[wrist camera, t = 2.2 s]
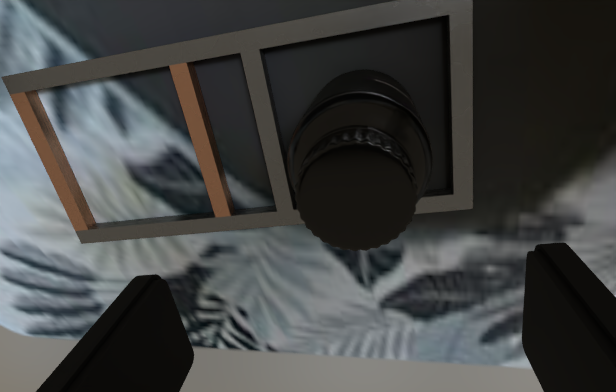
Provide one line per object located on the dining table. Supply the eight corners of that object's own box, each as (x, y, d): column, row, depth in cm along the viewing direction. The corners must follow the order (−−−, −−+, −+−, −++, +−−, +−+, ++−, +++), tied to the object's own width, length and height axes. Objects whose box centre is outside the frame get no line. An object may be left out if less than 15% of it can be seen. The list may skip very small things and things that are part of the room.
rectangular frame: (468, -14, 22) (472, -15, 21) (469, 202, 27) (472, 208, 26) (13, 74, 28) (1, 76, 27) (89, 237, 33) (81, 243, 32)
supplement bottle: (421, 67, 24) (466, 116, 13) (408, 171, 27) (437, 281, 16) (309, 66, 25) (265, 110, 14) (309, 167, 28) (273, 268, 17)
